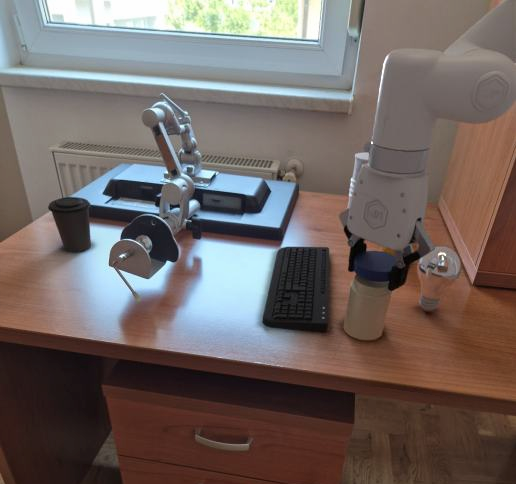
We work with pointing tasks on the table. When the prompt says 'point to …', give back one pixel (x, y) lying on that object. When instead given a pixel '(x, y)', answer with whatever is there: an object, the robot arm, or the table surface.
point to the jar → (366, 308)
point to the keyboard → (299, 290)
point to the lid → (374, 265)
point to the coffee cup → (72, 222)
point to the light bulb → (437, 275)
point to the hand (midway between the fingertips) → (375, 277)
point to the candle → (357, 172)
